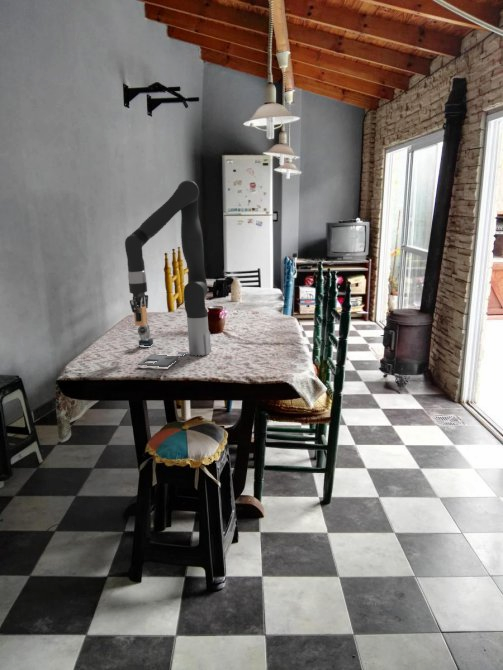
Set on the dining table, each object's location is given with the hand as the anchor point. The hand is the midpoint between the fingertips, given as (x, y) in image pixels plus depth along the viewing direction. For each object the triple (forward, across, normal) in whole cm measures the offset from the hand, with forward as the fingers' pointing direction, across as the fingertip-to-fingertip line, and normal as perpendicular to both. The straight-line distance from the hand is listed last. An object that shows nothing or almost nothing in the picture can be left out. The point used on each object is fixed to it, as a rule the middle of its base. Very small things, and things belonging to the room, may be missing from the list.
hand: (141, 320), depth 227 cm
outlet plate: (+17, -9, -11) cm, 22 cm away
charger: (+2, 0, 0) cm, 2 cm away
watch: (+17, +17, +7) cm, 25 cm away
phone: (+18, +6, -11) cm, 22 cm away
